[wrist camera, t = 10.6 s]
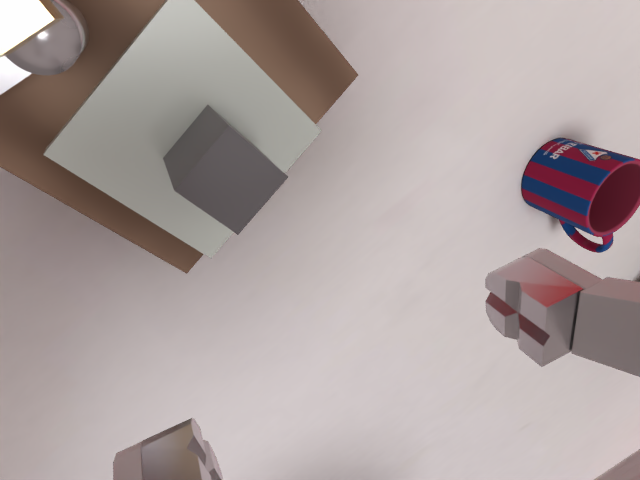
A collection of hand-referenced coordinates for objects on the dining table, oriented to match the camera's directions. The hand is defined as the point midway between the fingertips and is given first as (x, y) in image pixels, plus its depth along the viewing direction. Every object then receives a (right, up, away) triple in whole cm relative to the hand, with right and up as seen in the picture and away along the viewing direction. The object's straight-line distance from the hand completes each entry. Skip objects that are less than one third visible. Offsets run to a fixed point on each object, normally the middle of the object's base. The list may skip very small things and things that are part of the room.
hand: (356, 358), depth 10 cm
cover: (-8, +8, +14) cm, 18 cm away
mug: (+21, +8, +32) cm, 39 cm away
